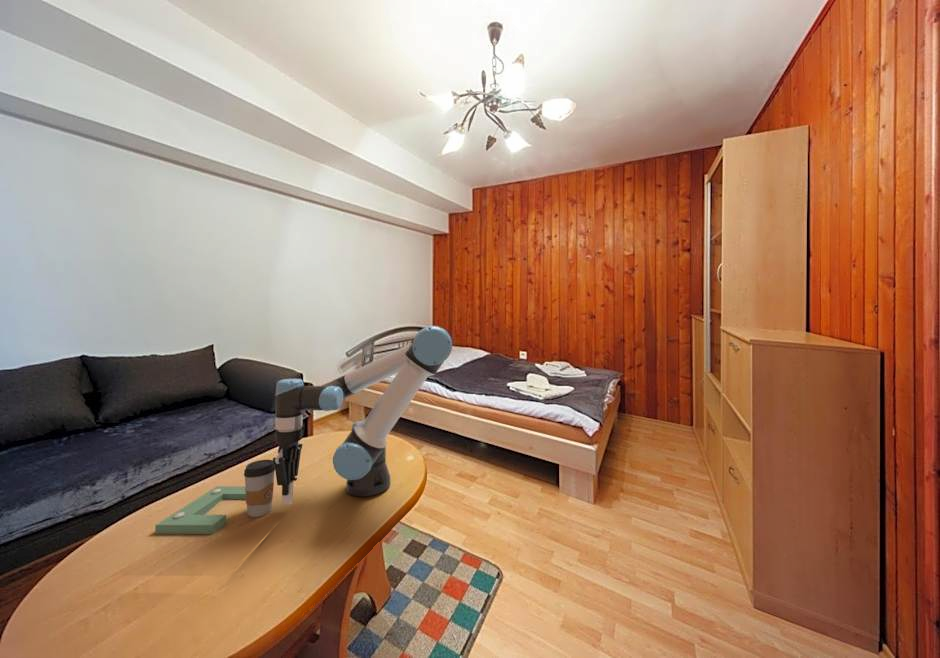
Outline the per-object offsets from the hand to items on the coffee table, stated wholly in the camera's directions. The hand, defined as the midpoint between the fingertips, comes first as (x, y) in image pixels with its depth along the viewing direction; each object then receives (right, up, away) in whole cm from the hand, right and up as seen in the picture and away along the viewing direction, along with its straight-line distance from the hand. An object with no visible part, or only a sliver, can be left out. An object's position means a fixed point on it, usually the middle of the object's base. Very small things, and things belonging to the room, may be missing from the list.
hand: (287, 503), depth 101 cm
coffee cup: (-9, -3, 0) cm, 9 cm away
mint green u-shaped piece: (-24, -3, 0) cm, 24 cm away
